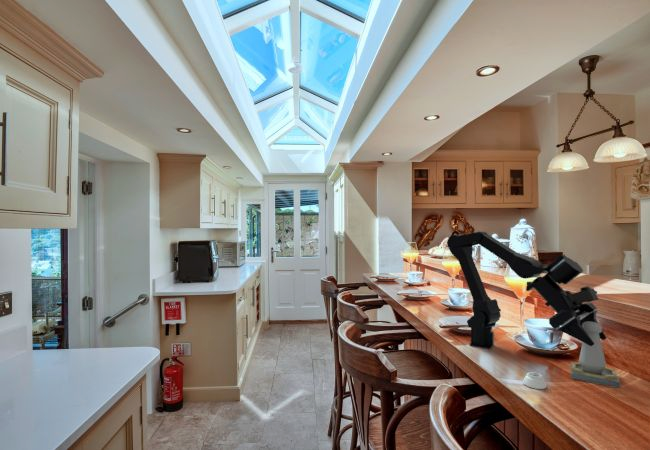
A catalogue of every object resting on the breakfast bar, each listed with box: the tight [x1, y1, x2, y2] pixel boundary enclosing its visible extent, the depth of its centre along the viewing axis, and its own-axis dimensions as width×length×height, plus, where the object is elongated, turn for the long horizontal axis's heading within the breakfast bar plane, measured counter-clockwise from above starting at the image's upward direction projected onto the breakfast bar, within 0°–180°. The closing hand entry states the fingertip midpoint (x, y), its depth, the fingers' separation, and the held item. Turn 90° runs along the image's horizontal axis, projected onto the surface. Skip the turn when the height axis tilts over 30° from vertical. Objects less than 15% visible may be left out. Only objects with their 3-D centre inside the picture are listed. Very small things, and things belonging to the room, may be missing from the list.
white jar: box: [522, 371, 547, 390], centre depth 90 cm, size 5×3×5 cm
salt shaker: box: [578, 321, 607, 374], centre depth 96 cm, size 6×6×13 cm
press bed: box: [570, 361, 621, 389], centre depth 96 cm, size 10×10×2 cm
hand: (599, 342), depth 95 cm, fingers open, 9 cm apart
